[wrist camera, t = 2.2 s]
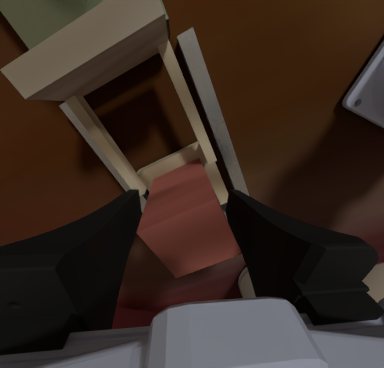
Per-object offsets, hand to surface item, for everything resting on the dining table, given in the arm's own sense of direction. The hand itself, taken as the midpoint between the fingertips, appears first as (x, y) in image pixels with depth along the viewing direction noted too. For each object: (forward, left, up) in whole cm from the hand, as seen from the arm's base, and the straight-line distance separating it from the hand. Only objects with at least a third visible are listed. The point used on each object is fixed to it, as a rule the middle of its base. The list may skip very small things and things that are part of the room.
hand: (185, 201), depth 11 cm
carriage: (+2, -2, -3) cm, 4 cm away
